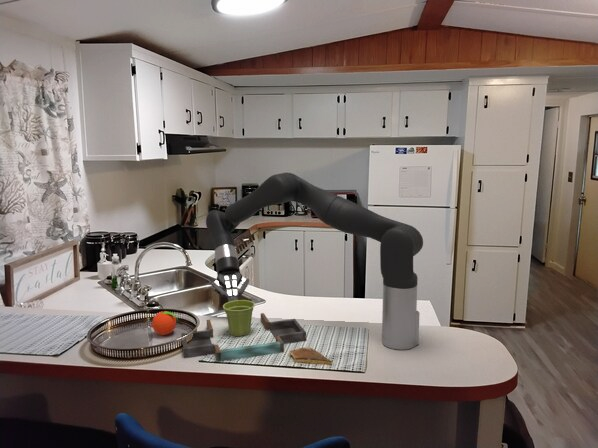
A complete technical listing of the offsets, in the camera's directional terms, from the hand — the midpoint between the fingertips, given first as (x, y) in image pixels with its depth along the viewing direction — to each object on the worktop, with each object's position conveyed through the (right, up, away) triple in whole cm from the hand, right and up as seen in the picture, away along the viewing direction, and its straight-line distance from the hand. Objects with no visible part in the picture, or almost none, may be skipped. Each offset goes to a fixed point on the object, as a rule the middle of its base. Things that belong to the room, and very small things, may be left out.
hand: (234, 307), depth 145 cm
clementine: (-19, -7, -8) cm, 22 cm away
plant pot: (+3, -6, -8) cm, 10 cm away
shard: (+24, -9, -24) cm, 35 cm away
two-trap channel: (+4, -7, -12) cm, 15 cm away
